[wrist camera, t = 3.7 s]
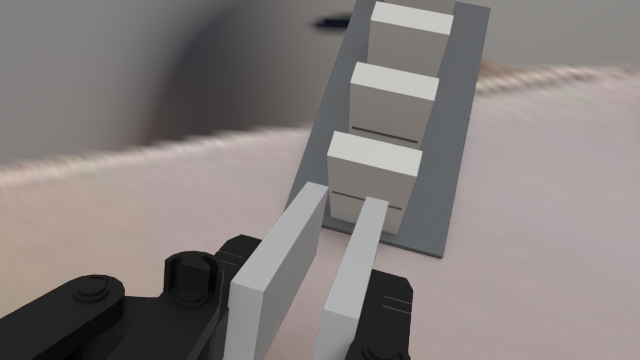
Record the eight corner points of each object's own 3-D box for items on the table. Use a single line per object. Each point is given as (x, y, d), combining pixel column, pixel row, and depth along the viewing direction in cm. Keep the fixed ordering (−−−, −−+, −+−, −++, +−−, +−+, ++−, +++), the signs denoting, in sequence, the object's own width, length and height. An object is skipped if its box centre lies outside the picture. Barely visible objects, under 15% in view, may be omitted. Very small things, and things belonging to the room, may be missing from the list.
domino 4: (396, 234, 34) (416, 177, 25) (330, 217, 35) (326, 155, 26) (401, 214, 35) (422, 150, 26) (336, 197, 36) (334, 130, 26)
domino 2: (423, 121, 38) (449, 35, 29) (363, 107, 39) (370, 19, 30) (427, 104, 39) (453, 15, 30) (368, 91, 39) (376, 1, 30)
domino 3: (410, 174, 36) (434, 101, 27) (348, 159, 37) (350, 83, 28) (415, 156, 37) (439, 78, 28) (353, 142, 37) (356, 61, 28)
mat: (441, 258, 34) (443, 256, 33) (284, 216, 36) (283, 214, 35) (488, 12, 43) (490, 8, 43) (361, -11, 45) (362, -16, 44)
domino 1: (435, 72, 40) (462, -23, 31) (377, 60, 41) (388, -36, 32) (438, 57, 41) (466, -40, 32) (382, 46, 41) (393, -53, 32)
